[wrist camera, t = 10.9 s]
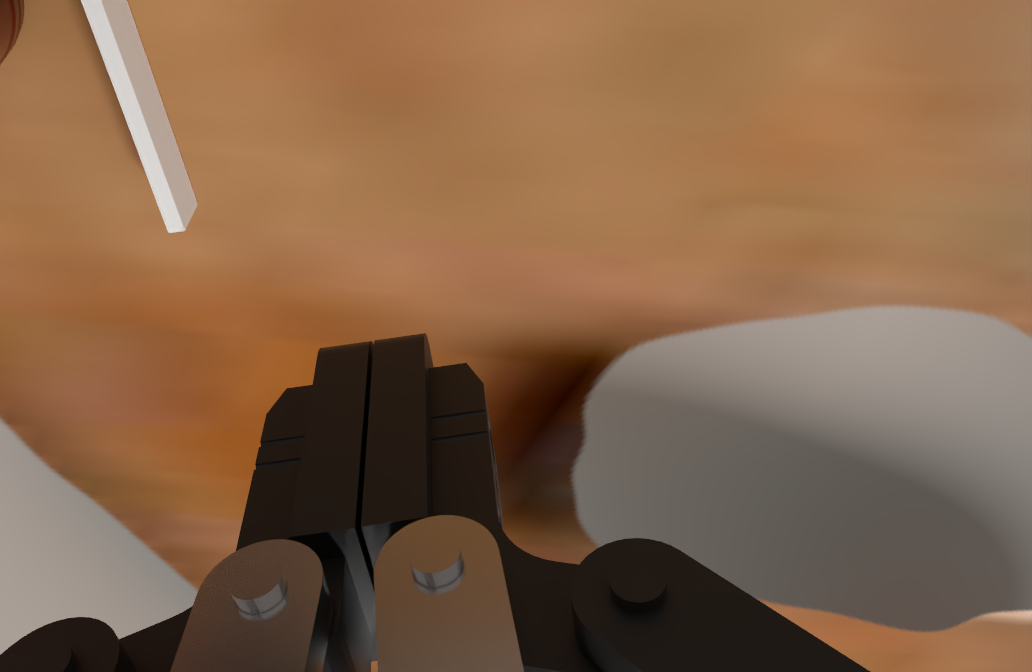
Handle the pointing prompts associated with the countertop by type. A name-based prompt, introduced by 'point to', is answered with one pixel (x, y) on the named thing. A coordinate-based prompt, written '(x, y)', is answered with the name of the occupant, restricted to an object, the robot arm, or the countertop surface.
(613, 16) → the countertop surface
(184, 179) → the tray
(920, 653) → the countertop surface
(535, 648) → the robot arm
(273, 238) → the countertop surface
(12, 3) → the mug
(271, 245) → the countertop surface
